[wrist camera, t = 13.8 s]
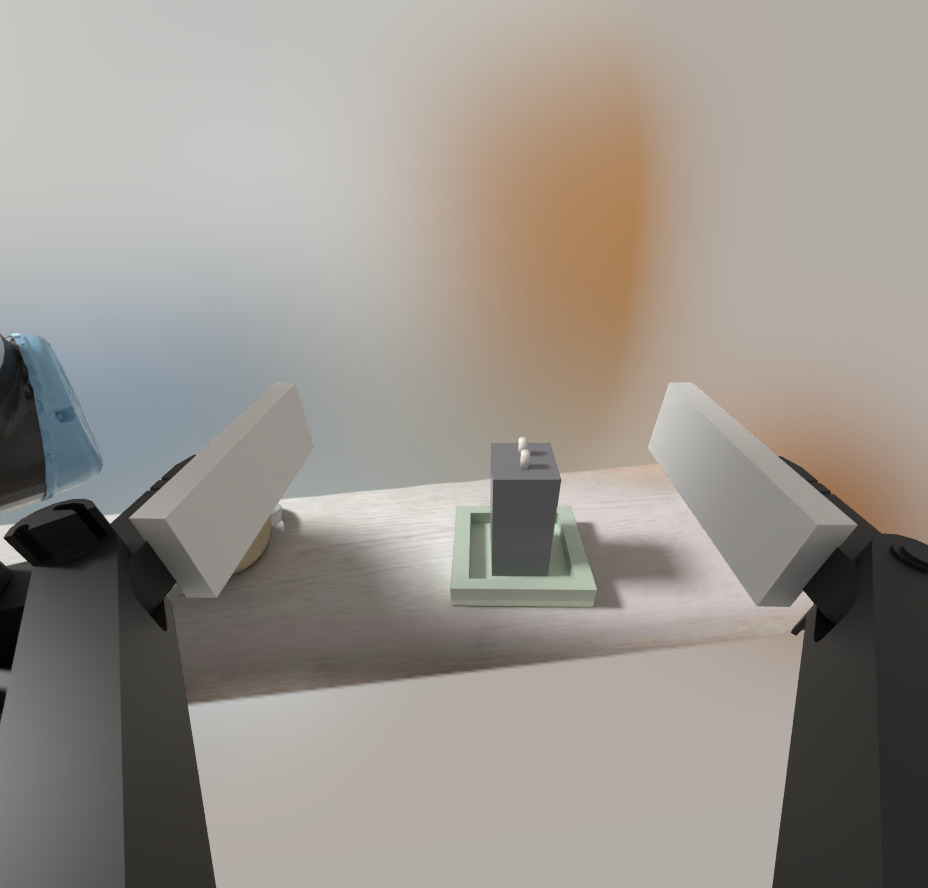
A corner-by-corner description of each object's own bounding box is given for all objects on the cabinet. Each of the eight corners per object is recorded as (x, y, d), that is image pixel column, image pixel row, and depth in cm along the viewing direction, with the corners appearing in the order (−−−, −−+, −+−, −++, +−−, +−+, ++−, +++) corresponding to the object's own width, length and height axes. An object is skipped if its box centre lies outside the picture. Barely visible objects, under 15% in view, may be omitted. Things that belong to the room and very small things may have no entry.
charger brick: (491, 575, 33) (493, 464, 26) (490, 534, 37) (491, 429, 31) (547, 576, 33) (563, 464, 26) (539, 534, 37) (551, 428, 30)
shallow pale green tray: (451, 605, 32) (450, 588, 30) (457, 522, 40) (456, 506, 39) (592, 606, 31) (597, 589, 30) (568, 522, 40) (571, 506, 38)
